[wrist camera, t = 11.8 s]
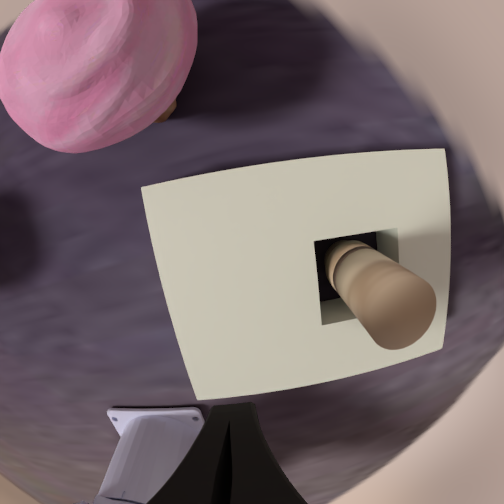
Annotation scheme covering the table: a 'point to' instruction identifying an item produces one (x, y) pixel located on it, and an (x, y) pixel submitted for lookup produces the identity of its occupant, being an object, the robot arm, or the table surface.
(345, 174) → the board
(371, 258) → the peg
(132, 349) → the table surface
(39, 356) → the table surface
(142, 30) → the cupcake
